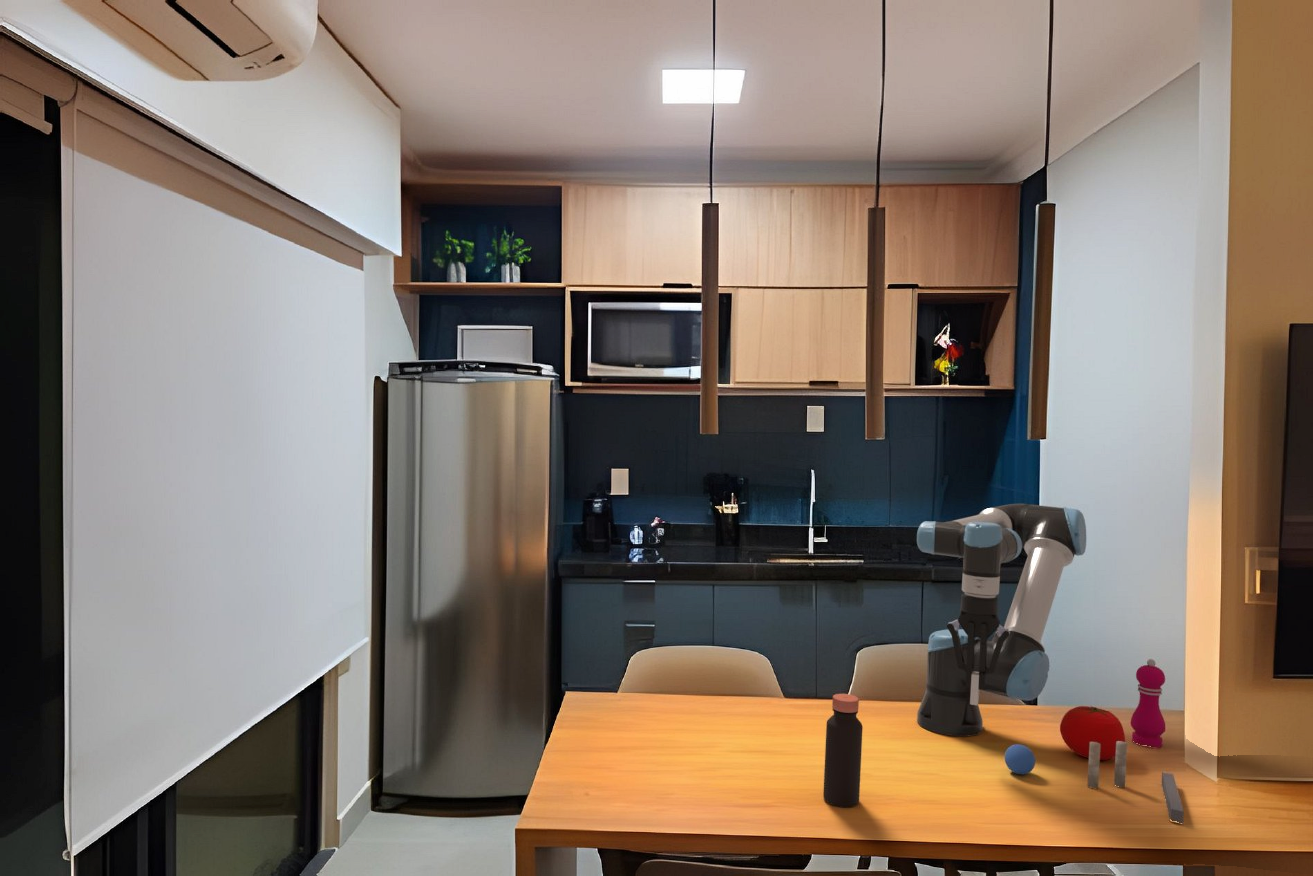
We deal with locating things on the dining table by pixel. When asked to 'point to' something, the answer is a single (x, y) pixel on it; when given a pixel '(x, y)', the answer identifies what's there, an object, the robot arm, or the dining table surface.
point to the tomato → (1091, 731)
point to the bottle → (843, 753)
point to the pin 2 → (1120, 764)
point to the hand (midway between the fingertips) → (974, 703)
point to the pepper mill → (1148, 706)
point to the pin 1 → (1093, 764)
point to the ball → (1019, 759)
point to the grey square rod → (1172, 797)
